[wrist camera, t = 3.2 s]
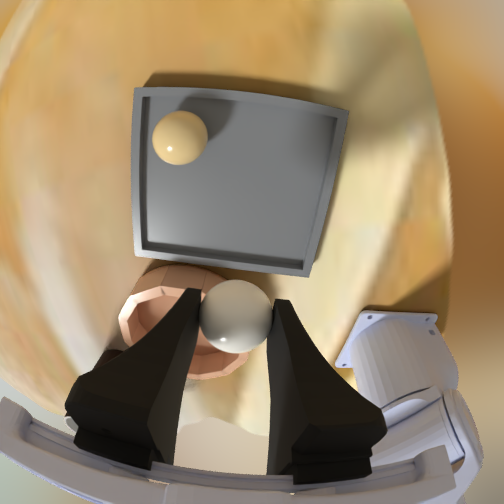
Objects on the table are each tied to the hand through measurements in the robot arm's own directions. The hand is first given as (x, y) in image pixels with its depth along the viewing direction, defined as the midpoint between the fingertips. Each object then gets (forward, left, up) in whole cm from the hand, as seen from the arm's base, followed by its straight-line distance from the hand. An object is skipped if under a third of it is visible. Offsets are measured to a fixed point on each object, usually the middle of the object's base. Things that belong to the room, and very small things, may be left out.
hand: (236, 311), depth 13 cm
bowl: (+4, +9, -9) cm, 14 cm away
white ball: (0, 0, -1) cm, 1 cm away
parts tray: (+1, -3, -9) cm, 9 cm away
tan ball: (+4, -6, -8) cm, 11 cm away
